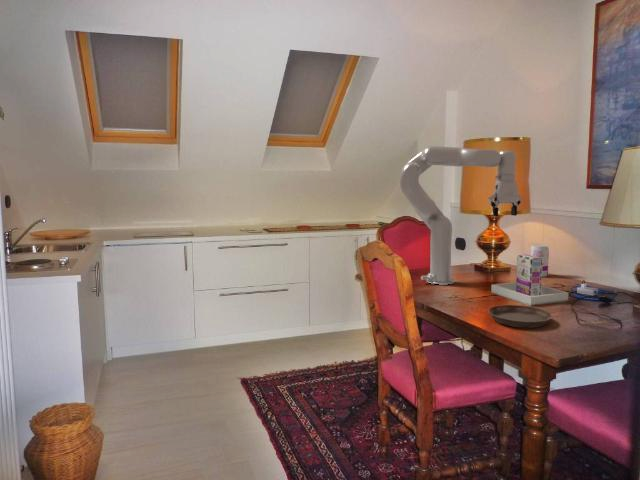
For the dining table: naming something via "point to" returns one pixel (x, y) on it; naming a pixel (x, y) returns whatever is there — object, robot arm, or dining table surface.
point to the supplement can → (543, 253)
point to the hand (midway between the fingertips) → (504, 215)
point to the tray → (545, 295)
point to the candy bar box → (528, 275)
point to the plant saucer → (520, 316)
